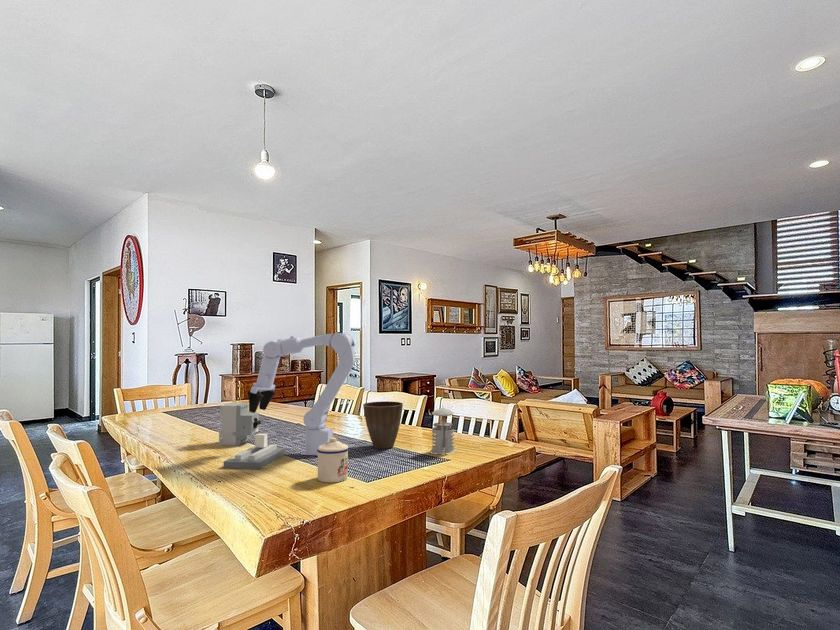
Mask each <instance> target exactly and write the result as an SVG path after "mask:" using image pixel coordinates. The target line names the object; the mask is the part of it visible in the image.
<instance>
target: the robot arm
mask: <svg viewBox="0 0 840 630" xmlns="http://www.w3.org/2000/svg"><path fill="white" fill-rule="evenodd" d="M322 345H324V346H327V347H331V348H332V349H333V351H334V352H335V353H336V354H337V357H338V360H339V362H338V364H337V365H336V368H335V369H334V371H333V373H332V374H331V376H330V378H329V380H328V382H327V383H326V385H325V387H324V389H323V391H322V392H321V394H320V396H319V397H318V399H317V401H316V402H315V403H314V404H313V405H312V407H311V408H310V410H308V411H307V412H306V413H305V414H304V415H303V424H304V426H305V428H304V429H305V431H304V432H305V433H304V435H305V436H304V439H305V440H304V441H305V442H304V445H305V447H304V451H303V452H301V453H300V455H301V456H318V451H317V448H318V447H319V446H320V445H323V444H325V443H326V442H328V441H329V439H330V438H333V437H334V431H333V429H332V428H330V427H327V424H326V421H327V420H328V413H329V412H330V409H331V405H332V403H333V401H334V400H335V398H336V397H337V395H338V393H339V391H340V389H341V387H342V386H343V384H344V382H345V381H346V379H347V377H348V375H349V373H350V372H351V370H352V368H353V367H354V365H355V363H356V355H355V354H356V353H355V352H356V351H355V348H356V343H355V341H354V338H353V337H352V336H351V334H349V333H347V332H346V333H342V332H337V333H324V334H320V335H315V336H312V337H308V338H304V339H302V338H300V337H298V336H295V335H291V336H290V337H288V338H285V339H282V338H278V339H277V341H272V340H271V341H269V342H266V343H265V344H264V345H263V348H262V352H263V358H262V359H261V360H262V361H261V364H260V368H259V371H258V376H257V379H256V382H253V383H252V386H251V388H250V390H247V392H246V393H247V398H248V412H252V413H255V412H257V410H258V408H259V409H260V410H263V411H266V410H267V407H268V406H269V404H270V402H271V400H272V399H273V398H274V396H275V395H276V394H277V391H275V388H276V384H274V381H275V379H276V374H277V371H278V367H279V363H280V359H281V357H282V356H289V355H293V354H297V353H302V351H303V350H304V349H305V348H309V347H311V348H312V347H316V346H322Z"/></svg>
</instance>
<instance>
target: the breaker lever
mask: <svg viewBox="0 0 840 630" xmlns="http://www.w3.org/2000/svg"><path fill="white" fill-rule="evenodd" d="M254 439H255V441H254V446H255V447H258V449H256V452H257V451H259V450H261V449H263V448H265V447H267V446H268V433H257V434H256V433H255V436H254Z"/></svg>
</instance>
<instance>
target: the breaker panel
mask: <svg viewBox="0 0 840 630" xmlns="http://www.w3.org/2000/svg"><path fill="white" fill-rule="evenodd" d="M256 449H258V447H255V445H254V446H252V447H250V448H248V449H245V450H243V451H241V452H239V453H237V454H235V455H234V456H233V457H230V458H228V459H226V460H223V469H244V470H246V469H247V470H249V469H250V470H260V469H262V468H263V466H264V467H266V466H267V465H269V464H271V463H272V461H273V462H274V461H276V460H278V459H279V457H280V458H281V457H283V456H285V455H286V453H287V452H288V451H287V449H288V448H287V447H278V444H270V445H267V446H266V447H265V448H263V449H261V450H259V451H257V452H256ZM284 454H285V455H284ZM287 454H288V453H287ZM277 458H278V459H277ZM265 465H266V466H265Z"/></svg>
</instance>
